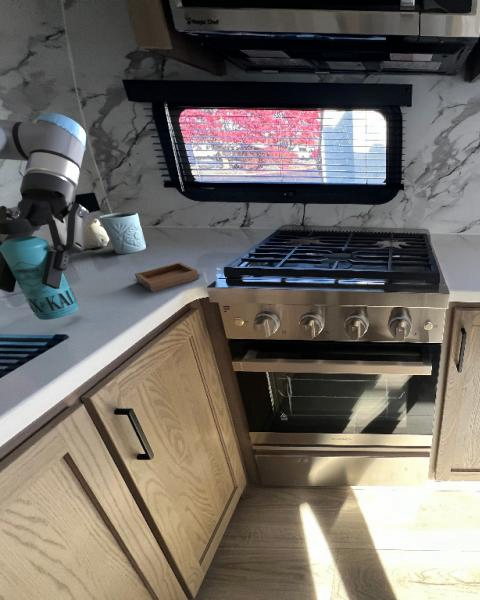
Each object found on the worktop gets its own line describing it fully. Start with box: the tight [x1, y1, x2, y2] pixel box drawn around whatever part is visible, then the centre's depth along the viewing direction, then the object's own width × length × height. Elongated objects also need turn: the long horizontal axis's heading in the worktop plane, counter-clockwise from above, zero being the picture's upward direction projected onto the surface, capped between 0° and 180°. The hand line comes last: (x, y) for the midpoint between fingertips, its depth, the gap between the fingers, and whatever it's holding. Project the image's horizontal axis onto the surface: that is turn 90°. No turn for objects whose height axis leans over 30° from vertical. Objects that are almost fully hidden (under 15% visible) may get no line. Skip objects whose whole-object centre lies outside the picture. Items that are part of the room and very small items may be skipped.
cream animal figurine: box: [83, 218, 110, 251], centre depth 118 cm, size 15×7×15 cm
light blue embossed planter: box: [99, 211, 147, 255], centre depth 112 cm, size 10×10×12 cm
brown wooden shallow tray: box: [134, 262, 200, 293], centre depth 88 cm, size 11×11×2 cm
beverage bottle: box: [0, 219, 79, 321], centre depth 62 cm, size 6×7×20 cm
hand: (27, 287), depth 60 cm, fingers closed on beverage bottle, 7 cm apart
